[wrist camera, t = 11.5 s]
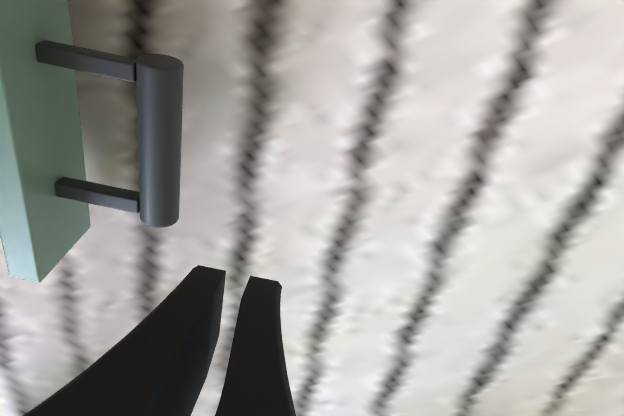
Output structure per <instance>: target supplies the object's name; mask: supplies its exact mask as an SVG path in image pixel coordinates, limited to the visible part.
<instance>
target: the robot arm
mask: <svg viewBox="0 0 624 416" xmlns="http://www.w3.org/2000/svg"><path fill="white" fill-rule="evenodd" d="M225 275H226V271H224V270H219V269H214V268H209V267H204V266H199V265H198V266H197V267H195V268H193V269H192V270H191V272H190V273H189V274H188V275H187V276H186V277H185V278H184V279H183V281H182V282H181V283H180V284H179V285H178V286H177V287H176V288H175V289H174V290H173V291H172V292H171V293H170V294H169V295H168V296H167V297H166V298H165V299H164V300H163V301H162V302H161V303H160V304H159V305H158V306H157V307H156V308H155V309H154V310H153V311H152V312H151V313H150V314H149V315H148V316H147V317H146V318H145V319H144V320H143V321H141V322H140V323H139V324H138V325H137V326H136V327H135V328H134V329H133V330H132V331H131V332H130V333H129V334H127V335H126V336H125V337H124V338H123V339H122V340H121V341H119V342H118V343H117V344H116V345H115V346H114V347H112V348H111V349H110V350H109V351H108V352H106V353H105V354H104V355H103V356H102V357H101V358H99V359H98V360H97V361H96V362H95V363H93V364H92V365H91V366H90V367H89V368H87V369H86V370H85V371H83V372H82V373H81V374H80V375H78V376H77V377H76V378H75V379H73V380H72V381H71V382H69V383H68V384H67V385H65V386H64V387H63V388H61V389H60V390H59V391H57V392H56V393H55V394H53V395H52V396H50V397H49V398H48V399H46V400H45V401H44V402H42V403H41V404H39V405H38V406H37V407H35V408H34V409H32V410H31V411H29V412H28V413H26V414H25V415H23V416H191V413H192V411H193V409H194V406H195V404H196V401H197V399H198V397H199V394H200V392H201V389H202V387H203V384H204V382H205V380H206V377H207V374H208V370H209V367H210V364H211V361H212V357H213V354H214V351H215V347H216V344H217V340H218V337H219V331H220V322H221V313H222V303H223V294H224V285H225ZM281 289H282V286H281V285H280V283H279V282H278V281H273V280H269V279H264V278H259V277H254V276H250V278H249V281H248V283H247V286H246V288H245V291H244V293H243V296H242V299H241V303H240V308H239V313H238V318H237V323H236V328H235V333H234V338H233V343H232V348H231V353H230V358H229V363H228V368H227V373H226V378H225V382H224V386H223V390H222V394H221V398H220V402H219V405H218V408H217V411H216V414H215V416H296V414H295V410H294V405H293V400H292V396H291V391H290V386H289V381H288V376H287V370H286V363H285V357H284V350H283V343H282V334H281V320H280V298H281Z"/></svg>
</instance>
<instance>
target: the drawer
mask: <svg viewBox="0 0 624 416" xmlns="http://www.w3.org/2000/svg"><path fill="white" fill-rule="evenodd" d="M183 69H184V65H183V63H182V61H181V60H179V59H177V58H174V57H171V56H168V55H162V54H146V55H142V56H139V57H138V58H137V59H134V58H129V57H124V56H119V55H115V54H110V53H105V52H100V51H96V50H91V49H86V48H82V47H77V46H73V41H72V31H71V20H70V10H69V0H0V236H1V240H2V244H3V249H4V253H5V257H6V262H7V266H8V271H9V275H10V276H11V277H15V278H20V279H25V280H30V281H35V282H41V281H42V280H43V279H44V278H45V277H46V276H47V275H48V273H49V272H50V271H51V270H52V269H53V268H54V267H55V266H56V265H57V263H58V262H59V261H60V260H61V259H62V258H63V257H64V256H65V254H66V253H67V252H68V251H69V250H70V249H71V248H72V247H73V246H74V244H75V243H76V242H77V241H78V240H79V239H80V238H81V237H82V236H83V234H84V233H85V232H86V231H87V230H88V229H89V228H90V217H89V206H88V203H90V204H95V205H99V206H104V207H109V208H114V209H119V210H124V211H129V212H134V213H139V211H140V218H141V220H142V222H143V223H144V224H146V225H148V226H150V227H155V228H164V227H168V226H171V225H173V224H175V223H176V222H177V220H178V218H179V198H180V166H181V133H182V101H183ZM75 70H78V71H82V72H87V73H92V74H97V75H101V76H106V77H111V78H116V79H120V80H125V81H130V82H135V81H137V115H138V156H139V192H137V191H132V190H127V189H122V188H117V187H112V186H107V185H103V184H98V183H93V182H88V181H86V175H85V165H84V155H83V144H82V134H81V124H80V113H79V103H78V93H77V82H76V72H75Z"/></svg>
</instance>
